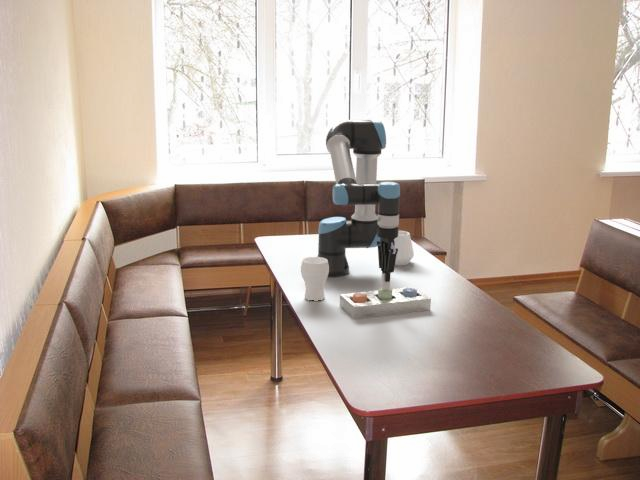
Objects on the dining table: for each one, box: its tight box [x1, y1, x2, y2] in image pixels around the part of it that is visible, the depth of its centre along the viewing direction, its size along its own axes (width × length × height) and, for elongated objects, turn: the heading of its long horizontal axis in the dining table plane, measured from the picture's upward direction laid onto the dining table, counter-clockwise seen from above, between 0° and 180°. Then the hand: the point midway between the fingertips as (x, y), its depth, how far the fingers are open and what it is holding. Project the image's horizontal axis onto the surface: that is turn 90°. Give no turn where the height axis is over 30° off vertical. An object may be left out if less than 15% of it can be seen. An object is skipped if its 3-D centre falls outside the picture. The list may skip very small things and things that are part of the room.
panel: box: [339, 286, 432, 320], centre depth 243 cm, size 14×30×4 cm, turn 109°
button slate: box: [403, 287, 418, 297], centre depth 246 cm, size 5×5×5 cm
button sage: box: [377, 287, 393, 300], centre depth 243 cm, size 5×5×5 cm
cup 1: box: [300, 256, 329, 302], centre depth 251 cm, size 11×11×15 cm
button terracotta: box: [353, 292, 367, 303], centre depth 240 cm, size 5×5×5 cm
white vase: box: [394, 230, 415, 266], centre depth 300 cm, size 13×13×14 cm
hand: (385, 289), depth 242 cm, fingers closed
